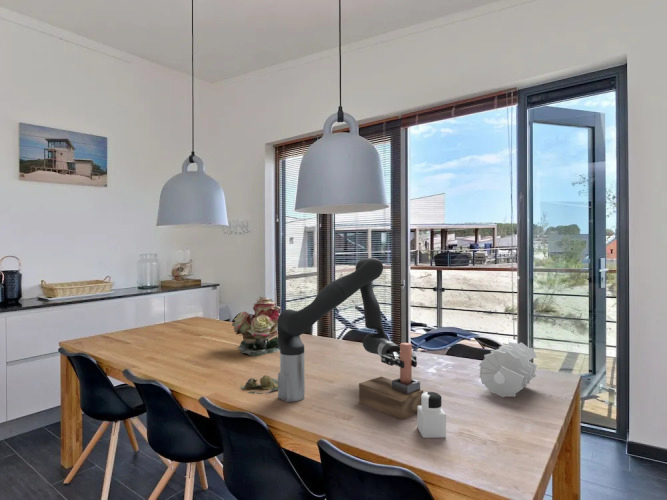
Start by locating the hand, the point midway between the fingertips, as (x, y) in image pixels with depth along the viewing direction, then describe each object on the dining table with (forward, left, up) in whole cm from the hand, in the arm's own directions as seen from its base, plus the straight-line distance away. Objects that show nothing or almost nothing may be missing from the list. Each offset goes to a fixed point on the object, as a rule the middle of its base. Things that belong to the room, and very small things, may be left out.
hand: (409, 364), depth 138 cm
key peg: (+1, +2, -9) cm, 10 cm away
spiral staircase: (+47, -12, -17) cm, 52 cm away
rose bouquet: (+4, +108, -17) cm, 110 cm away
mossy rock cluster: (-25, +56, -17) cm, 64 cm away
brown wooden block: (-1, +8, -17) cm, 18 cm away
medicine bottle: (-7, -14, -17) cm, 23 cm away
